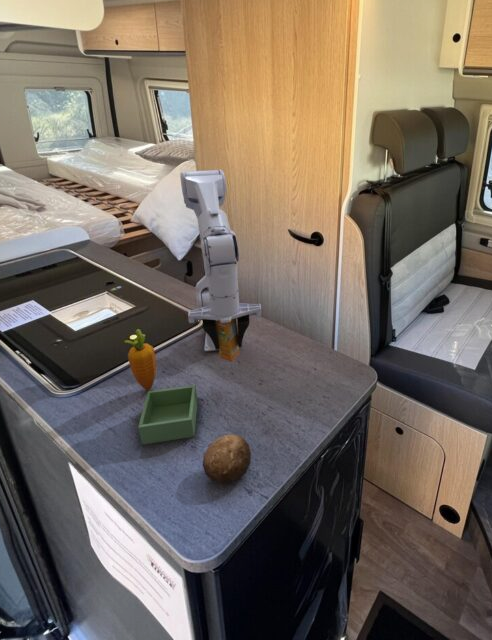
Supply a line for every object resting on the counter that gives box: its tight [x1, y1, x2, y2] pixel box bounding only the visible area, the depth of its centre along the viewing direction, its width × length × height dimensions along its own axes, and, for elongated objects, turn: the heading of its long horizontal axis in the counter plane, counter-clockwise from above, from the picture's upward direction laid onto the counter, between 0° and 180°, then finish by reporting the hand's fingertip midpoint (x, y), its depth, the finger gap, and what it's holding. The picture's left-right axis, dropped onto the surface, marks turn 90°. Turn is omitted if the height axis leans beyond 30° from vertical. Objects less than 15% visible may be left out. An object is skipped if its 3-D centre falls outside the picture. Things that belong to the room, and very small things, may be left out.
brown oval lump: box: [202, 433, 252, 484], centre depth 68 cm, size 8×8×6 cm
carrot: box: [124, 328, 157, 391], centre depth 81 cm, size 5×5×15 cm
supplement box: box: [216, 318, 240, 362], centre depth 83 cm, size 3×3×10 cm
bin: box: [137, 384, 199, 446], centre depth 76 cm, size 9×9×4 cm
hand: (228, 345), depth 84 cm, fingers closed on supplement box, 4 cm apart
